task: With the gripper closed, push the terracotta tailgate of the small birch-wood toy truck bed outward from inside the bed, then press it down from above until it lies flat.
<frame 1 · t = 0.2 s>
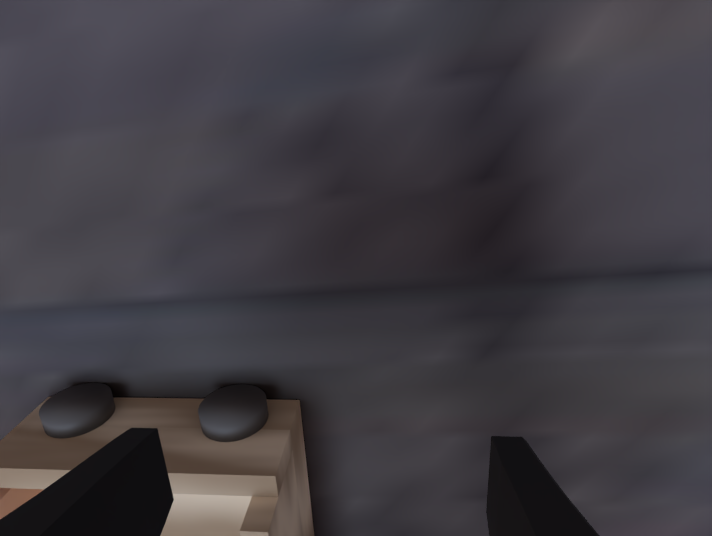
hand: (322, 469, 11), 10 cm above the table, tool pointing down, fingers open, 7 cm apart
truck bed: (194, 505, 25), on the table
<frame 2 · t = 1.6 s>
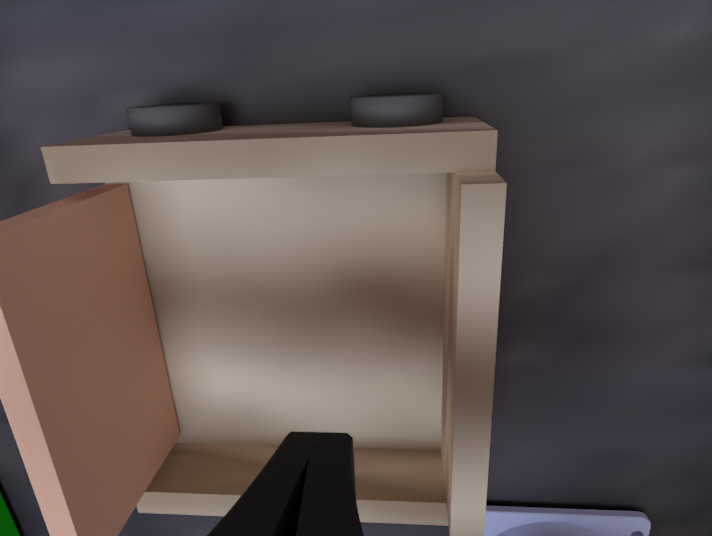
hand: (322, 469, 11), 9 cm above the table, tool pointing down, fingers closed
tailgate: (97, 367, 15), point 5 cm above the table, hinge at 0.0°
truck bed: (309, 297, 19), on the table
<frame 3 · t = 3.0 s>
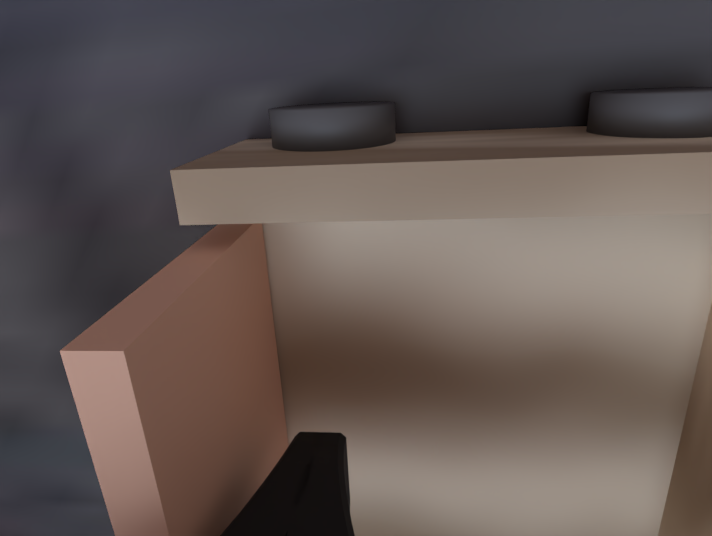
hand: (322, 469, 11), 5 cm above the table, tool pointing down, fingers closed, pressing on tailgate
tailgate: (231, 484, 10), point 5 cm above the table, hinge at 0.0°, touching gripper
truck bed: (472, 357, 15), on the table
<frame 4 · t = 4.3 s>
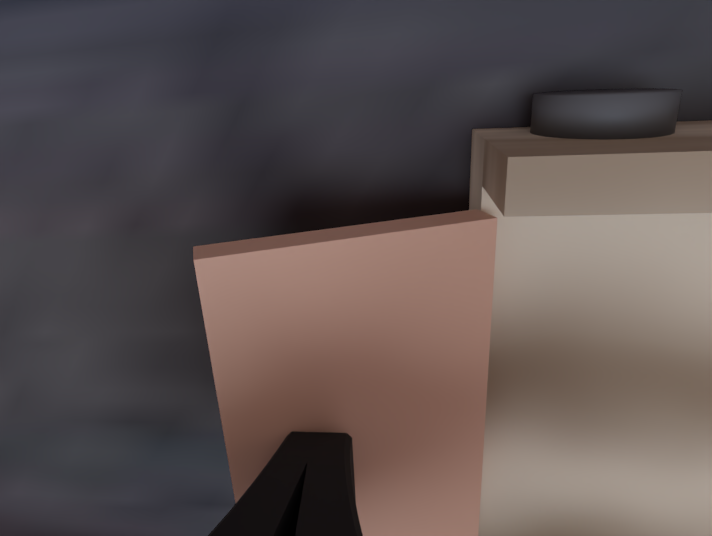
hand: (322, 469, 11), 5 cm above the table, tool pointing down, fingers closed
tailgate: (362, 437, 12), point 4 cm above the table, hinge at 67.3°, touching gripper
truck bed: (679, 359, 14), on the table
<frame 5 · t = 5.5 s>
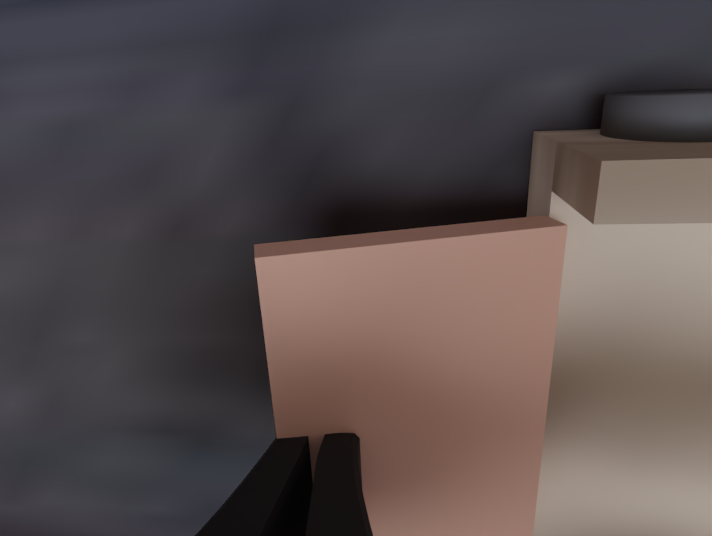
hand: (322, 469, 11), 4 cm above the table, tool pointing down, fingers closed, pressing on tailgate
tailgate: (413, 445, 11), point 3 cm above the table, hinge at 72.7°, touching gripper
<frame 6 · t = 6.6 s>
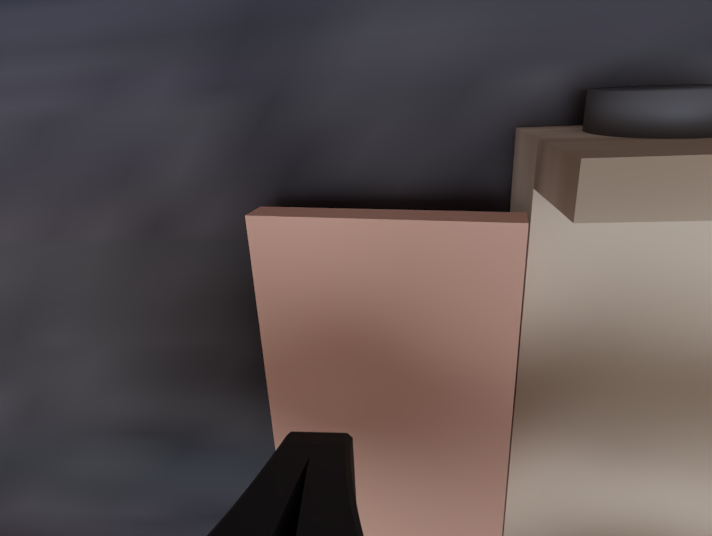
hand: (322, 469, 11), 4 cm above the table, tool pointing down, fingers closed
tailgate: (385, 406, 12), point 2 cm above the table, hinge at 99.8°
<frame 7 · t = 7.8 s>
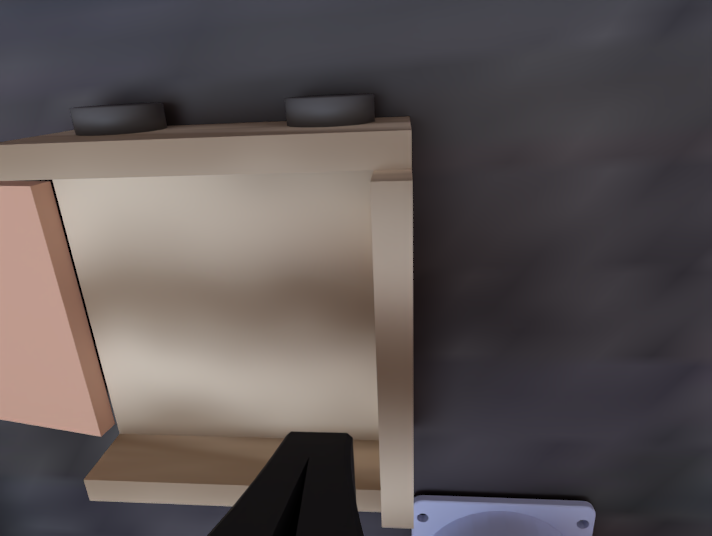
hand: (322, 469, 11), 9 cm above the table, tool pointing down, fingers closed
tailgate: (13, 312, 19), point 2 cm above the table, hinge at 100.0°
truck bed: (259, 292, 20), on the table
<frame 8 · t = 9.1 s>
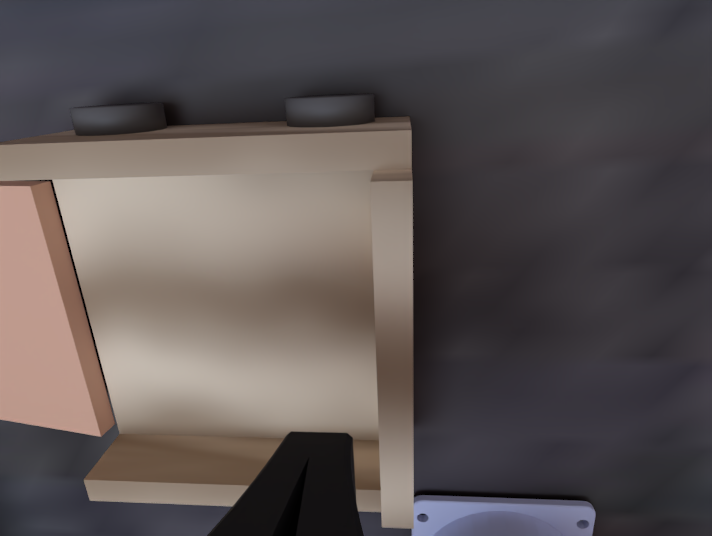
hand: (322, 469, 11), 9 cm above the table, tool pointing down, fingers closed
tailgate: (13, 312, 19), point 2 cm above the table, hinge at 100.0°
truck bed: (259, 292, 20), on the table
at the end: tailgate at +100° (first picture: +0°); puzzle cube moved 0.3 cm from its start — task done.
